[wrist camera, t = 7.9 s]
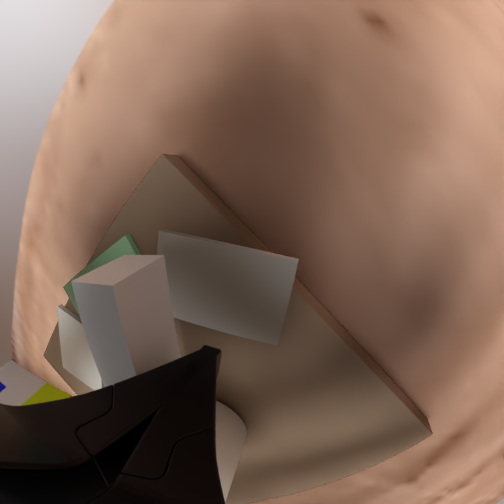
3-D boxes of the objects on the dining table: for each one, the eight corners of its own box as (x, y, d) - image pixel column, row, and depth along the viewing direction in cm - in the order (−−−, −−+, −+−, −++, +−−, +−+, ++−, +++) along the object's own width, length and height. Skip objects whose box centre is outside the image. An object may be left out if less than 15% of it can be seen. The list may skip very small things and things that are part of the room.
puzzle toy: (12, 359, 18) (-49, 405, 9) (71, 395, 17) (-1, 467, 7) (46, 424, 21) (2, 470, 12) (108, 460, 19) (63, 523, 10)
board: (439, 411, 11) (447, 429, 9) (234, 494, 16) (230, 508, 15) (183, 132, 10) (165, 126, 8) (50, 342, 15) (36, 352, 14)
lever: (249, 454, 12) (225, 531, 7) (172, 439, 13) (135, 504, 8) (231, 241, 9) (150, 312, 4) (120, 242, 10) (15, 288, 5)
